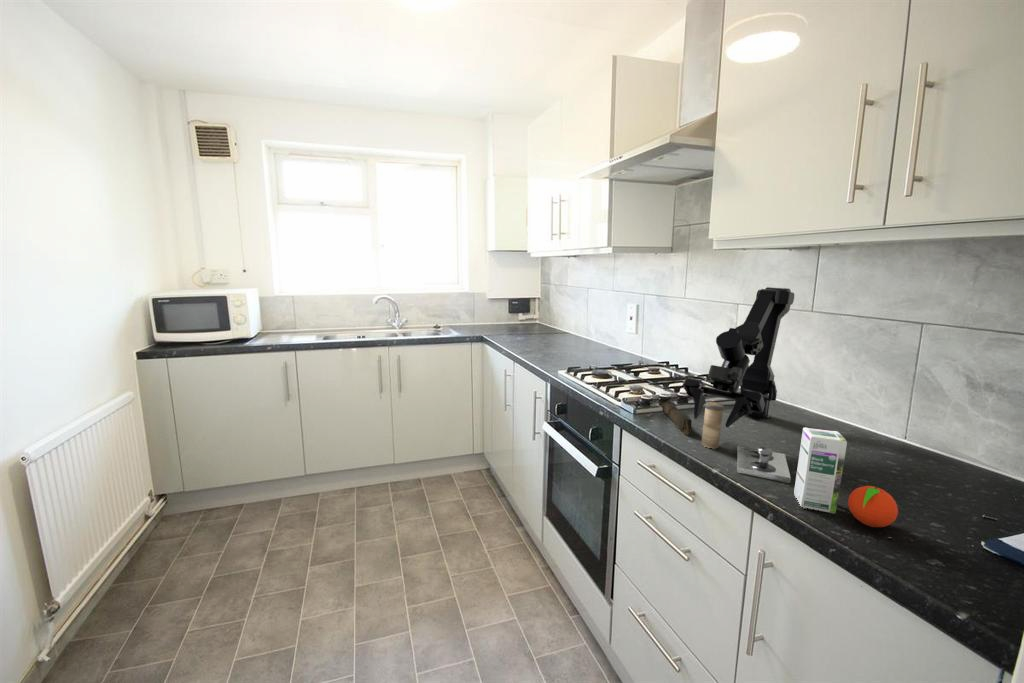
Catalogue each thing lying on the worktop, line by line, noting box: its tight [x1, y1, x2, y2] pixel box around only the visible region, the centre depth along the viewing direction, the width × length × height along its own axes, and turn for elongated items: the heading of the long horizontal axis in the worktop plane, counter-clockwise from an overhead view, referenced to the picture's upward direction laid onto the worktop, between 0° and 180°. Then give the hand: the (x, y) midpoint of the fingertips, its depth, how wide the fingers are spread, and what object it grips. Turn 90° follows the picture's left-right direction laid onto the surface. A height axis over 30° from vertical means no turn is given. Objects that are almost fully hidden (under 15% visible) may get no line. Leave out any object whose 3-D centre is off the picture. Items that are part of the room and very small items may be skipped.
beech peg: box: [700, 401, 725, 450], centre depth 111 cm, size 4×4×11 cm
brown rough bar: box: [661, 401, 692, 437], centre depth 127 cm, size 19×4×5 cm, turn 175°
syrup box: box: [793, 427, 848, 515], centre depth 85 cm, size 6×6×14 cm
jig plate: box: [736, 445, 791, 484], centre depth 101 cm, size 14×10×5 cm
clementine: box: [847, 485, 899, 528], centre depth 79 cm, size 8×7×7 cm
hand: (710, 422), depth 110 cm, fingers open, 7 cm apart
